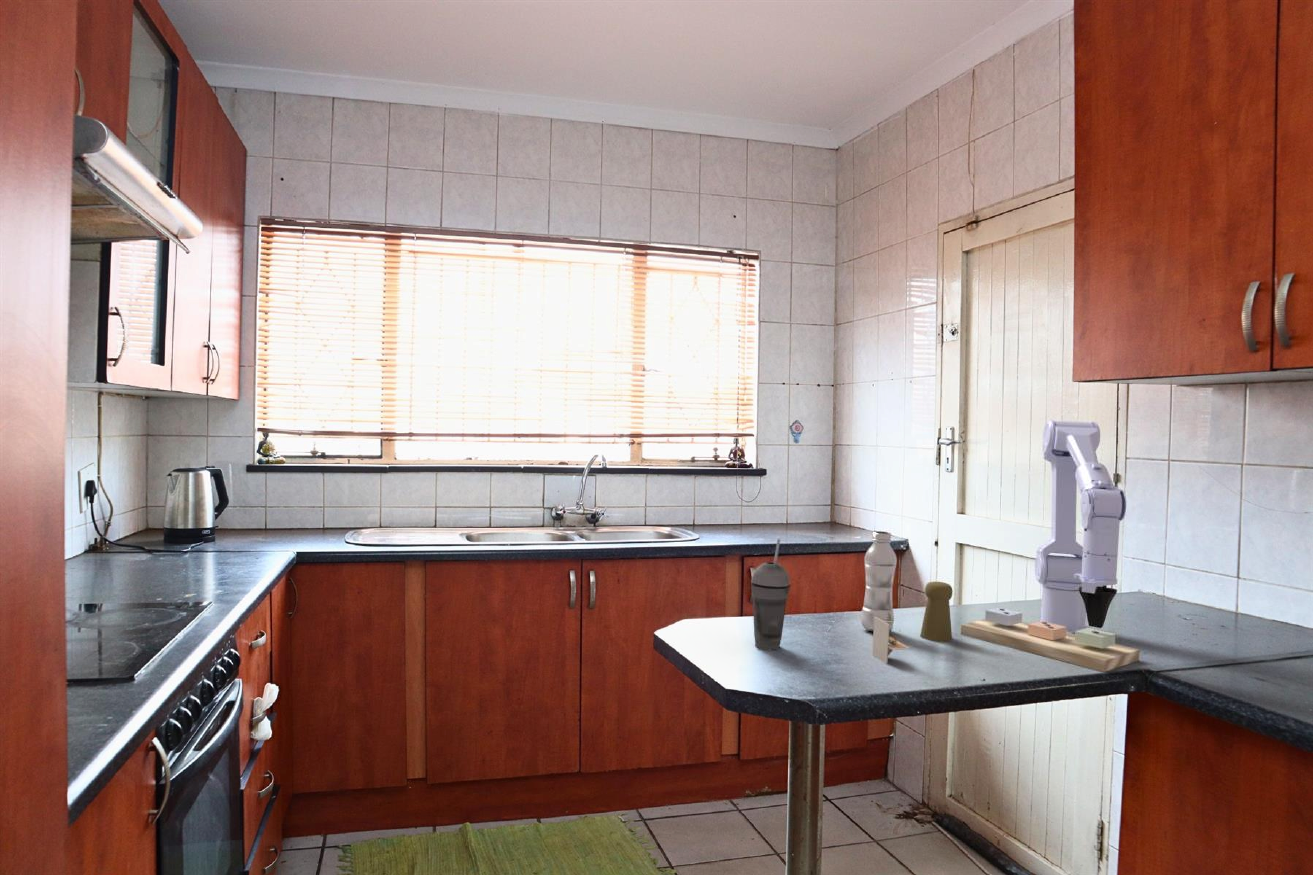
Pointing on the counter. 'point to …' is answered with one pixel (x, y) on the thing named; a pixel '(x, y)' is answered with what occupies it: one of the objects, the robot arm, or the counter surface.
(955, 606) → the counter surface
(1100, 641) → the tile one
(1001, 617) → the tile two
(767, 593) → the beverage cup
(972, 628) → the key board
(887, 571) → the plastic bottle
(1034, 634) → the tile three
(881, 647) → the architectural model
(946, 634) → the cork
